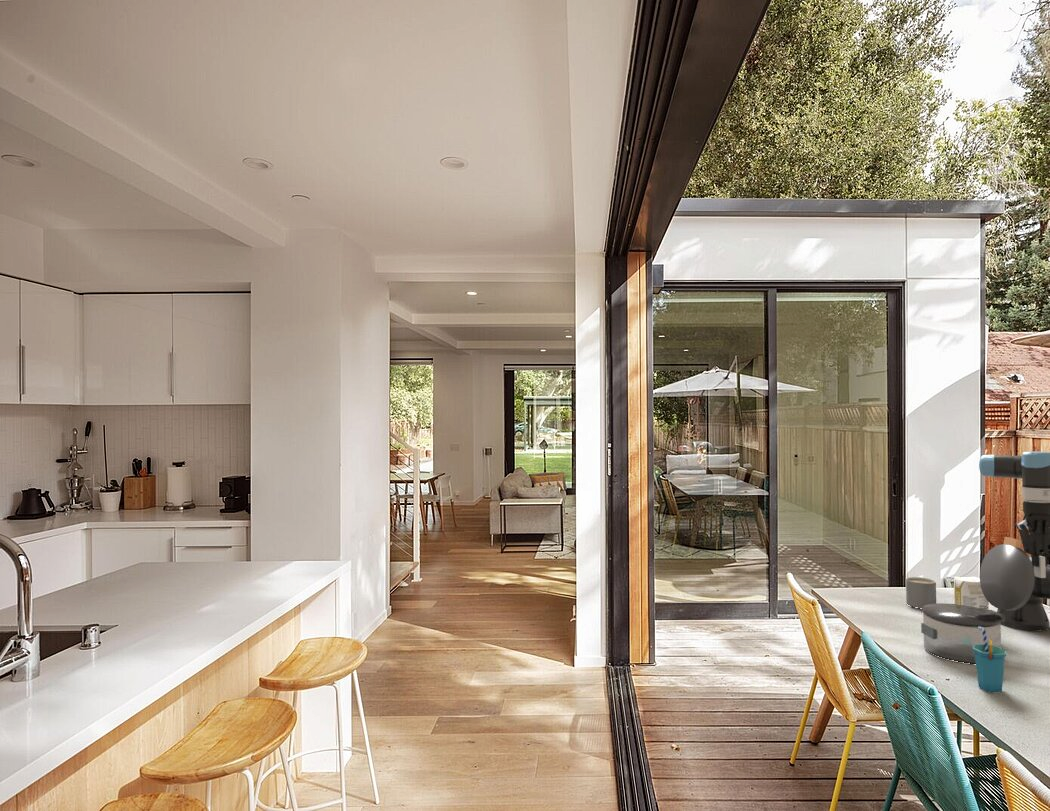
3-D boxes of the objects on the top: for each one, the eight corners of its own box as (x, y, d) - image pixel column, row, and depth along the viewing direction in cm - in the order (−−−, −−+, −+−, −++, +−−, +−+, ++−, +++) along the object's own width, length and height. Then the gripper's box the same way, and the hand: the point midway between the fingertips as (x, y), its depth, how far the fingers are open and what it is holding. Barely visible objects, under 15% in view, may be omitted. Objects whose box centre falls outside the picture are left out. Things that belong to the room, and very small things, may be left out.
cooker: (976, 641, 211) (975, 603, 211) (1024, 665, 190) (1022, 623, 190) (908, 642, 211) (907, 603, 211) (949, 666, 190) (947, 624, 191)
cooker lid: (974, 598, 211) (985, 600, 211) (1020, 617, 191) (1032, 620, 191) (987, 532, 211) (997, 534, 211) (1034, 544, 191) (1046, 546, 191)
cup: (964, 675, 184) (963, 623, 184) (997, 679, 181) (995, 625, 181) (980, 696, 171) (979, 639, 171) (1015, 700, 168) (1014, 642, 168)
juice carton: (992, 639, 212) (991, 581, 213) (965, 639, 213) (964, 581, 213) (977, 631, 220) (976, 575, 220) (951, 631, 220) (950, 576, 221)
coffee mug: (937, 611, 243) (936, 584, 243) (906, 607, 248) (905, 581, 248) (935, 602, 255) (934, 576, 255) (906, 598, 260) (905, 574, 260)
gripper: (1026, 502, 197) (1028, 580, 197) (1068, 502, 197) (1070, 579, 197) (1007, 499, 205) (1009, 574, 204) (1048, 499, 205) (1051, 573, 204)
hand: (1039, 576), depth 201 cm, fingers closed
